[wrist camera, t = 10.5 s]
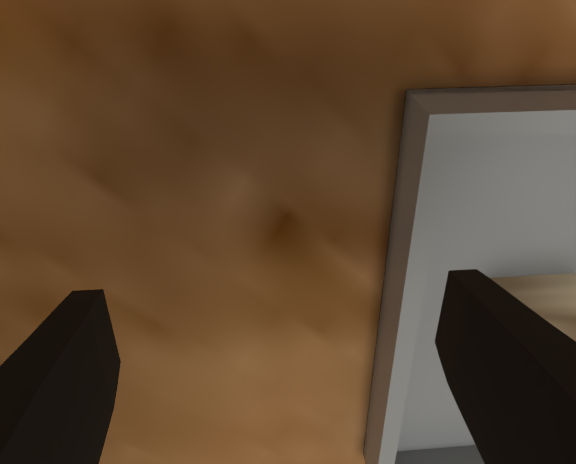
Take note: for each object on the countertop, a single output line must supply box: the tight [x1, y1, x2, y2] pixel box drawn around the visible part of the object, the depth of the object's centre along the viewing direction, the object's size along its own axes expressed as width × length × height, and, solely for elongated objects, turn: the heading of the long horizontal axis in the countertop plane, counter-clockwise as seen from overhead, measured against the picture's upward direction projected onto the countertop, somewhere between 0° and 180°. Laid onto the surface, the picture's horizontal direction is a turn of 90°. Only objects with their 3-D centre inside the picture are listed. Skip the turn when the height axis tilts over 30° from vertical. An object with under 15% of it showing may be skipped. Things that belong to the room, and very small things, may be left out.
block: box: [490, 273, 576, 341], centre depth 21 cm, size 4×4×6 cm
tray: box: [363, 84, 576, 464], centre depth 23 cm, size 12×20×2 cm, turn 0°
